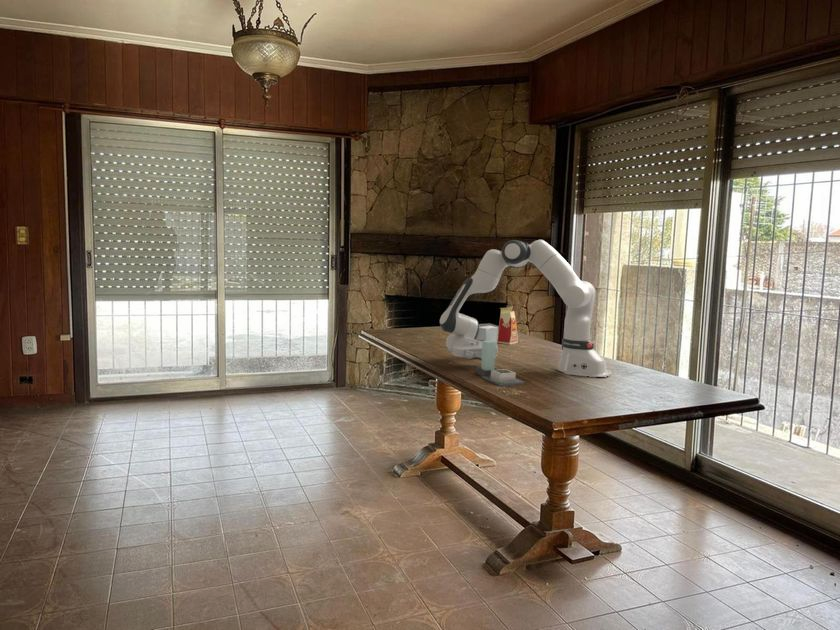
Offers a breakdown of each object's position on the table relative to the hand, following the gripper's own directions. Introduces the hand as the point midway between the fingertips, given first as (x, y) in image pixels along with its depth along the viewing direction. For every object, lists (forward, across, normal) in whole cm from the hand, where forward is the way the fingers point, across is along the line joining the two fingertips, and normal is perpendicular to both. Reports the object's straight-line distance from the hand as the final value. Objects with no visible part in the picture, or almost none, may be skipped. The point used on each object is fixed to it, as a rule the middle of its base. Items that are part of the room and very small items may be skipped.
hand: (483, 354), depth 267 cm
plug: (+4, 0, +8) cm, 9 cm away
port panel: (+16, 0, +8) cm, 18 cm away
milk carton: (-61, +49, +8) cm, 79 cm away
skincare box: (-28, +17, +8) cm, 34 cm away
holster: (+4, 0, +8) cm, 9 cm away
